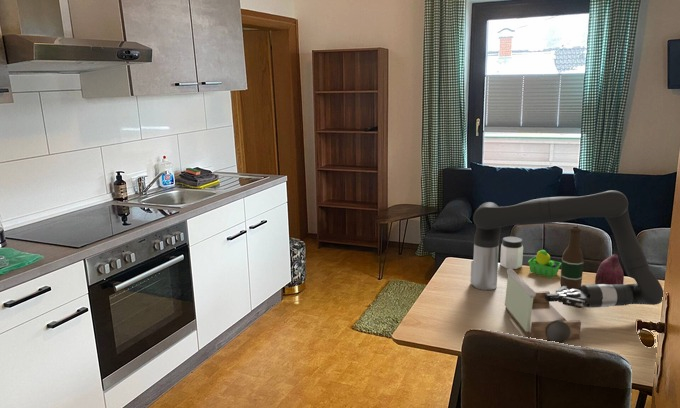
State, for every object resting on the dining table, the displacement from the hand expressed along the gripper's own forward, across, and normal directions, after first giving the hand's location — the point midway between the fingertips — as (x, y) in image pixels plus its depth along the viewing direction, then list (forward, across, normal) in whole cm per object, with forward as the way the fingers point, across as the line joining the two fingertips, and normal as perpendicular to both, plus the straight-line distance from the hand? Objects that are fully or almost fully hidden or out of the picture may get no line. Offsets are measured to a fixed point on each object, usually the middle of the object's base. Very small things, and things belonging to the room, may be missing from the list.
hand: (546, 297), depth 166 cm
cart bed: (+1, 0, +9) cm, 9 cm away
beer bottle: (-22, -28, +9) cm, 37 cm away
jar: (-8, -52, +9) cm, 53 cm away
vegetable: (-38, -29, +9) cm, 49 cm away
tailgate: (+10, 0, +7) cm, 12 cm away
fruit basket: (-18, -41, +9) cm, 46 cm away
